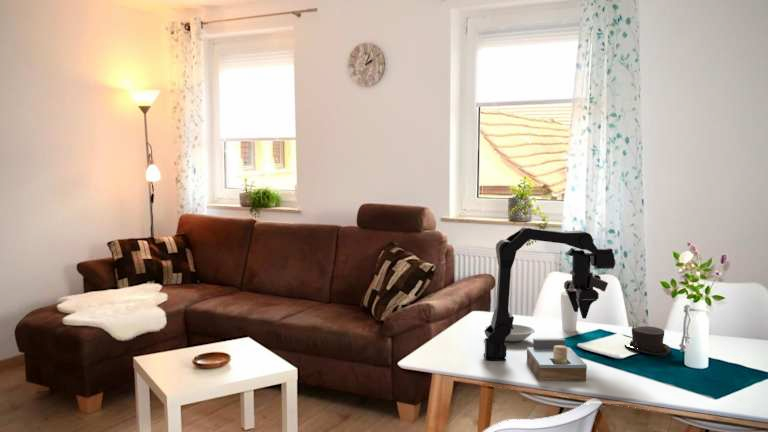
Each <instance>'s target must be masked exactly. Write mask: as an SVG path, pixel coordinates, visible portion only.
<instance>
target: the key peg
mask: <svg viewBox="0 0 768 432" xmlns="http://www.w3.org/2000/svg"><path fill="white" fill-rule="evenodd" d="M567 347H568V346H566V345H565V346H562V345H556V346H554V359H553V364H567Z"/></svg>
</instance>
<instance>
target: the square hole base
mask: <svg viewBox="0 0 768 432" xmlns="http://www.w3.org/2000/svg"><path fill="white" fill-rule="evenodd" d="M526 363H527V365H528V366H529V368H530V369H531V371H532V372H533V373H534V375H535V376H536V378H537V379H538V381H539V382H587V368H588V367H587V368H540V367H539V366H538V365H537V363H536V362H535V361H534V359H533V358H532V356H531V355H530V354H529V352H528V351H527V350H526ZM567 364H568V363H567Z"/></svg>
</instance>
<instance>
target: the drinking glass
mask: <svg viewBox="0 0 768 432" xmlns="http://www.w3.org/2000/svg"><path fill="white" fill-rule="evenodd" d="M560 309H561V312H560V313H561V325H562V326H561V330H562V331H563V332H567V333H568V332H569V333H571V332H572V333H573V332H577V325H578V324H577V323H578V315H579V311H578V312H574V310H573V307H572V305H571V302H570V300H569V298H568V295H567V293H566V291H563V292H561V293H560Z"/></svg>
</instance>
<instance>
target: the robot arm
mask: <svg viewBox="0 0 768 432" xmlns="http://www.w3.org/2000/svg"><path fill="white" fill-rule="evenodd" d="M530 240H531V241H540V242H548V243H554V244H555V243H557V244H563V245H567V246H570V249H569V250H568V251H567V252H566V253H565V254H566V255H567V256H570V257H572V265H571V266H572V267H571V268H572V269H571V270H570V275H571V280H570V279H569V280H568V279H567V280H566V281H565V282H564V283H563V288H564V290H565V291H564V292H566V293H567V295H568V298H569V300H570V302H571V305H572V307H573V310H574V312H578V313H579V312H580V316H581V318H582V319H583V320H584V319H585V320H586V319H587V317H588V314H589V311H590V309H591V308H590V307H591V305H592V304H594V302H596V301H597V300H599V292H598V291H597V290H596V289H598V290H600V291H601V292H603V293H604V292H606V289H607V288H608V284H609V282H607V281H606V280H603V279H601V276H600V275H598V274H595V273H592V272H591V266H592V267H593V268H594V269H595V270H613V269H614V268H615V266H616V259H615V255H614V252H613V251H614V250H613V248H609V247H608V248H598V247H597V246H596V245H595V243H594V239H593V236H592V234H590V233H589V232H586V231H583V230H568V231H557V230H551V229H550V230H549V229H541V228H533V227H528V226H523V227H521V228H520V229H518V231H516V232H514V233H513V234H511V235H509V236H508V237H507V238H506V239H505V238H504V239H500V240H499V241H498V242H497V243H496V245H495V252H496V253H495V254H496V260H497V265H498V270H497V271H498V273H497V286H496V301H495V305H496V306H495V309H494V311H493V314H492V319H491V321H490V324H489V325H490V326H489V325H488V326H489V327H488V328H487V329H486V328H485V330H484V332H483V333H484V335H485V338H484V353H483V357H484V358H485V360H486V361H506V360H507V359H506V357H507V344H506V341H505V339H506V337H507V336H508V335H509V334H510V333H511V329H513V324H514V320H515V319H514V318H515V316H513V314H512V312H510V311H509V304H510V289H511V275H512V272H511V271H512V268H513V264H514V262H515V258H516V255H517V251H519V250H520V249H522V248H523V247H524V246H525V244H526V243H527V242H528V241H530ZM575 248H577V249H579V250H577V249H575ZM585 250H586V251H588V252H585ZM594 288H595V289H594Z"/></svg>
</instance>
